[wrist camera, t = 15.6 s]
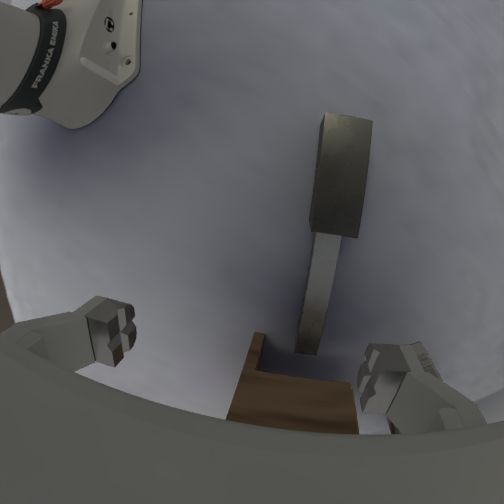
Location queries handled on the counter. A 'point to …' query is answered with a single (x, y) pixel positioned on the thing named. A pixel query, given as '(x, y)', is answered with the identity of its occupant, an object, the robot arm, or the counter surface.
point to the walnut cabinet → (291, 400)
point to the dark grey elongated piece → (332, 214)
